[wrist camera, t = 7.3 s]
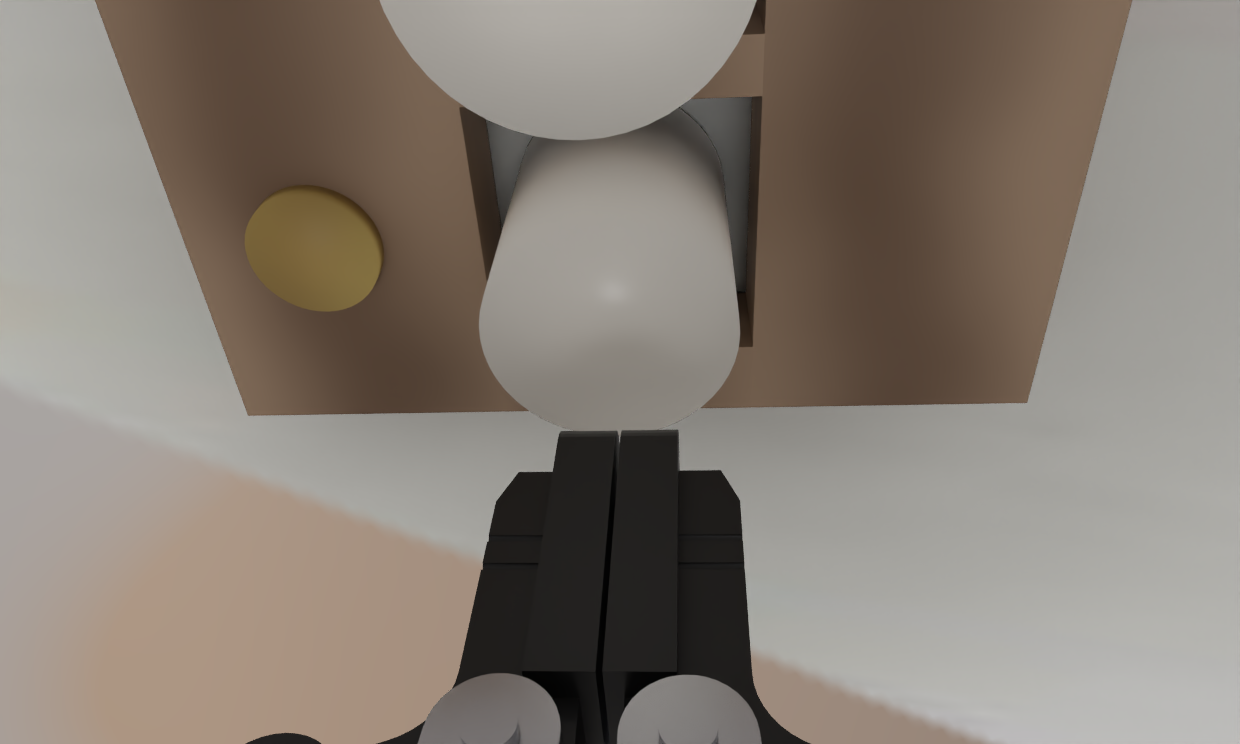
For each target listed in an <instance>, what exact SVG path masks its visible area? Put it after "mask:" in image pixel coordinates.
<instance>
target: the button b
mask: <svg viewBox="0 0 1240 744" xmlns="http://www.w3.org/2000/svg"><path fill="white" fill-rule="evenodd" d="M756 1H757V0H380V3H381V5H382V8H383V11H384V13H385V15H386V17H387V18H388V20H389V22H390V24H391V26H392V28H393V30H394V32H395V34H396V35H397V37H398V38H399V40H400V41H401V43H402V44H403V46H404V47H405V49H406V50H407V52H408V53H409V55H410V56H411V57H412V59H413V60H414V61H415V62H416V63H417V64H418V65H419V67H420V68H421V69H422V70H423V71H424V72H425V74H426V75H427V76H428V77H429V78H430V79H431V80H432V81H433V82H435V83H436V84H437V85H438V86H439V87H440V88H441V89H442V90H443V91H444V92H445V93H446V94H448V95H449V96H450V97H452V98H453V99H455V100H456V101H457V102H459V103H460V104H461V105H463V106H464V107H466V108H467V109H469V110H471V111H472V112H474V113H476V114H478V115H479V116H481V117H483V118H485V119H487V120H488V121H491V122H493V123H496V124H498V125H500V126H503V127H505V128H508V129H510V130H513V131H517V132H521V133H524V134H528V135H531V136H536V137H543V138H549V139H556V140H588V139H599V138H606V137H610V136H614V135H619V134H623V133H627V132H630V131H632V130H635V129H638V128H641V127H643V126H646V125H649V124H651V123H653V122H654V121H656V120H658V119H660V118H662V117H664V116H666V115H668V114H670V113H671V112H673V111H674V110H676V109H677V108H678V107H680V106H681V105H683V104H684V103H686V102H687V101H689V100H690V99H691V98H692V97H693V96H694V95H695V94H696V93H698V92H699V91H700V90H701V89H702V88H703V87H704V86H705V85H707V83H708V82H709V81H710V80H711V79H712V78H713V77H714V75H715V74H716V73H717V72H718V71H719V70H720V69H721V67H722V66H723V65H724V63H725V62H726V61H727V59H728V58H729V56H730V55H731V53H732V52H733V50H734V49H735V47H736V46H737V44H738V42H739V40H740V38H741V36H742V34H743V32H744V30H745V28H746V26H747V24H748V22H749V20H750V17H751V15H752V12H753V9H754V6H755V3H756Z"/></svg>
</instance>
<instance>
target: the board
mask: <svg viewBox="0 0 1240 744" xmlns="http://www.w3.org/2000/svg"><path fill="white" fill-rule="evenodd" d="M95 2H96V4H97V7H98V10H99V12H100V15H101V18H102V20H103V23H104V26H105V29H106V31H107V34H108V37H109V39H110V42H111V45H112V48H113V50H114V53H115V56H116V58H117V61H118V64H119V67H120V69H121V72H122V75H123V77H124V80H125V83H126V86H127V88H128V91H129V94H130V96H131V99H132V102H133V105H134V107H135V110H136V113H137V115H138V118H139V121H140V124H141V126H142V129H143V132H144V134H145V137H146V140H147V142H148V145H149V148H150V151H151V153H152V156H153V159H154V161H155V164H156V167H157V170H158V172H159V175H160V178H161V180H162V183H163V186H164V189H165V191H166V194H167V197H168V199H169V202H170V205H171V208H172V210H173V213H174V216H175V218H176V221H177V224H178V227H179V229H180V232H181V235H182V237H183V240H184V243H185V246H186V248H187V251H188V254H189V256H190V259H191V262H192V264H193V267H194V270H195V273H196V275H197V278H198V281H199V283H200V286H201V289H202V292H203V294H204V297H205V300H206V302H207V305H208V308H209V311H210V313H211V316H212V319H213V321H214V324H215V327H216V330H217V332H218V335H219V338H220V340H221V343H222V346H223V349H224V351H225V354H226V357H227V359H228V362H229V365H230V367H231V370H232V373H233V376H234V378H235V381H236V384H237V386H238V389H239V392H240V395H241V397H242V400H243V403H244V405H245V408H246V411H247V414H248V416H251V415H312V414H373V413H434V412H495V411H529V410H527V409H526V408H525V407H523V406H522V405H521V404H520V403H518V402H517V401H516V400H515V399H514V398H513V397H512V396H511V395H510V394H509V393H508V392H507V391H506V390H505V389H504V388H503V387H502V385H501V384H500V383H499V382H498V380H497V379H496V377H495V376H494V374H493V372H492V371H491V369H490V367H489V365H488V363H487V360H486V358H485V356H484V353H483V349H482V345H481V341H480V333H479V315H480V308H481V304H482V299H483V295H484V292H485V288H486V285H487V281H488V278H489V275H490V271H491V268H492V264H493V261H494V257H495V254H496V250H497V247H498V243H499V240H500V236H501V233H502V231H501V224H500V217H499V210H498V203H497V196H496V189H495V182H494V175H493V168H492V161H491V154H490V147H489V140H488V133H487V126H486V119H485V118H483V117H481V116H479V115H478V114H476V113H474V112H472V111H471V110H469V109H467V108H466V107H464V106H463V105H461V104H460V103H459V102H457V101H456V100H455V99H453V98H452V97H450V96H449V95H448V94H446V93H445V92H444V91H443V90H442V89H441V88H440V87H439V86H438V85H437V84H436V83H435V82H433V81H432V80H431V79H430V78H429V77H428V76H427V75H426V74H425V72H424V71H423V70H422V69H421V68H420V67H419V65H418V64H417V63H416V62H415V61H414V60H413V59H412V57H411V56H410V55H409V53H408V52H407V50H406V49H405V47H404V46H403V44H402V43H401V41H400V40H399V38H398V37H397V35H396V34H395V32H394V30H393V28H392V26H391V24H390V22H389V20H388V18H387V17H386V15H385V13H384V11H383V8H382V5H381V3H380V0H95ZM1131 2H1132V0H757V1H756V3H755V6H754V9H753V12H752V15H751V17H750V20H749V22H748V24H747V26H746V28H745V30H744V32H743V34H742V36H741V38H740V40H739V42H738V44H737V46H736V47H735V49H734V50H733V52H732V53H731V55H730V56H729V58H728V59H727V61H726V62H725V63H724V65H723V66H722V67H721V69H720V70H719V71H718V72H717V73H716V74H715V75H714V77H713V78H712V79H711V80H710V81H709V82H708V83H707V85H705V86H704V87H703V88H702V89H701V90H700V91H699V92H698V93H696V94H695V95H694V96H693V97H692V98H691V99H700V98H728V97H752V111H751V142H750V174H749V205H748V236H747V267H746V292H744V293H737V302H738V311H739V320H740V341H739V349H738V352H737V356H736V360H735V363H734V365H733V367H732V369H731V372H730V374H729V376H728V377H727V379H726V380H725V382H724V384H723V385H722V387H721V388H720V389H719V390H718V391H717V392H716V394H715V395H714V396H713V397H712V398H711V399H710V400H709V401H708V402H707V403H706V404H704V405H703V406H702V407H701V408H739V407H800V406H861V405H922V404H983V403H1027V401H1028V397H1029V393H1030V390H1031V386H1032V382H1033V378H1034V374H1035V370H1036V367H1037V363H1038V359H1039V355H1040V351H1041V347H1042V344H1043V340H1044V336H1045V332H1046V328H1047V324H1048V321H1049V317H1050V313H1051V309H1052V305H1053V301H1054V298H1055V294H1056V290H1057V286H1058V282H1059V278H1060V275H1061V271H1062V267H1063V263H1064V259H1065V255H1066V252H1067V248H1068V244H1069V240H1070V236H1071V232H1072V229H1073V225H1074V221H1075V217H1076V213H1077V209H1078V206H1079V202H1080V198H1081V194H1082V190H1083V186H1084V183H1085V179H1086V175H1087V171H1088V167H1089V163H1090V160H1091V156H1092V152H1093V148H1094V144H1095V140H1096V137H1097V133H1098V129H1099V125H1100V121H1101V117H1102V114H1103V110H1104V106H1105V102H1106V98H1107V94H1108V91H1109V87H1110V83H1111V79H1112V75H1113V71H1114V68H1115V64H1116V60H1117V56H1118V52H1119V48H1120V45H1121V41H1122V37H1123V33H1124V29H1125V25H1126V22H1127V18H1128V14H1129V10H1130V6H1131Z"/></svg>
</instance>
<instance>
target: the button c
mask: <svg viewBox="0 0 1240 744" xmlns="http://www.w3.org/2000/svg"><path fill="white" fill-rule="evenodd" d="M479 333H480V341H481V345H482V349H483V353H484V356H485V358H486V360H487V363H488V365H489V367H490V369H491V371H492V372H493V374H494V376H495V377H496V379H497V380H498V382H499V383H500V384H501V385H502V387H503V388H504V389H505V390H506V391H507V392H508V393H509V394H510V395H511V396H512V397H513V398H514V399H515V400H516V401H517V402H518V403H520V404H521V405H522V406H523V407H525V408H526V409H527V410H529V411H530V412H532V413H534V414H535V415H537V416H539V417H540V418H542V419H544V420H546V421H548V422H551V423H553V424H555V425H558V426H561V427H563V428H566V429H569V430H573V431H618V435H619V436H621V431H622V430H657V429H661V428H664V427H666V426H669V425H671V424H674V423H676V422H678V421H680V420H682V419H684V418H686V417H688V416H689V415H691V414H692V413H694V412H695V411H697V410H698V409H699V408H701V407H702V406H703V405H704V404H706V403H707V402H708V401H709V400H710V399H711V398H712V397H713V396H714V395H715V394H716V392H717V391H718V390H719V389H720V388H721V387H722V385H723V384H724V382H725V380H726V379H727V377H728V376H729V374H730V372H731V369H732V367H733V365H734V363H735V360H736V356H737V352H738V349H739V341H740V320H739V311H738V302H737V293H736V284H735V276H734V267H733V258H732V249H731V240H730V231H729V223H728V214H727V205H726V196H725V187H724V179H723V172H722V167H721V163H720V160H719V157H718V155H717V152H716V150H715V148H714V146H713V144H712V142H711V140H710V139H709V137H708V136H707V135H706V133H705V132H704V130H703V129H702V128H701V127H700V126H699V125H698V124H697V123H696V122H695V121H694V120H693V119H692V118H691V117H690V116H688V115H687V114H686V113H685V112H683V111H682V110H680V109H679V108H677V109H676V110H674V111H673V112H671V113H670V114H668V115H666V116H664V117H662V118H660V119H658V120H656V121H654V122H653V123H651V124H649V125H646V126H643V127H641V128H638V129H635V130H632V131H630V132H627V133H623V134H619V135H614V136H610V137H606V138H599V139H588V140H556V139H549V138H543V137H536V136H533V138H532V139H531V141H530V143H529V145H528V147H527V149H526V152H525V154H524V157H523V160H522V163H521V167H520V170H519V174H518V177H517V181H516V184H515V188H514V191H513V194H512V198H511V201H510V205H509V208H508V212H507V215H506V219H505V222H504V226H503V229H502V233H501V236H500V240H499V243H498V247H497V250H496V254H495V257H494V261H493V264H492V268H491V271H490V275H489V278H488V281H487V285H486V288H485V292H484V295H483V299H482V304H481V308H480V315H479Z"/></svg>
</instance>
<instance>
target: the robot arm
mask: <svg viewBox="0 0 1240 744" xmlns="http://www.w3.org/2000/svg"><path fill="white" fill-rule="evenodd" d="M246 744H321V743H320V742H318V741H317V740H315V739H313V738H311V737H308V736H305V735H301V734H294V733H281V734H273V735H269V736H264V737H261V738H258V739H255V740H253V741H250V742H248V743H246ZM378 744H810V743H807V742H805V741H803V740H801V739H800V738H798V737H796V736H794V735H792V734H791V733H790V732H788V731H787V730H786V729H784V728H783V727H781V726H780V725H779V724H778V723H777V722H776V721H775V720H774V719H773V718H772V717H771V716H770V714H769V713H768V712H767V710H766V709H765V708H764V706H763V704H762V703H761V701H760V699H759V697H758V695H757V692H756V689H755V686H754V683H753V676H752V667H751V652H750V638H749V624H748V610H747V595H746V581H745V570H744V553H743V541H742V524H741V510H740V500H739V498H738V496H737V495H736V493H735V492H734V490H733V489H732V487H731V486H730V484H729V482H728V481H727V479H726V478H725V476H724V475H723V473H722V472H721V470H708V471H680V467H679V433H678V430H622V431H621V437H620V445H619V435H618V431H561V432H560V434H559V437H558V443H557V449H556V455H555V462H554V468H553V472H519V473H518V474H517V475H516V477H515V478H514V479H513V481H512V482H511V483H510V484H509V486H508V487H507V488H506V490H505V491H504V492H503V494H502V495H501V496H500V497H499V499H498V500H497V501H496V505H495V509H494V514H493V518H492V523H491V527H490V532H489V542H487V546H486V550H485V555H484V559H483V570H481V573H480V578H479V582H478V587H477V591H476V596H475V600H474V605H473V609H472V614H471V619H470V623H469V628H468V633H467V637H466V641H465V646H464V651H463V655H462V660H461V664H460V669H459V673H458V676H457V679H456V682H455V684H454V686H453V688H452V689H451V690H450V691H449V692H448V693H447V694H445V695H444V696H443V697H442V698H441V699H440V700H439V701H438V703H437V704H436V705H435V706H434V707H433V709H432V710H431V712H430V714H429V715H428V717H427V719H426V721H424V722H423V723H422V724H420V725H419V726H417V727H416V728H414V729H413V730H411V731H409V732H407V733H405V734H403V735H401V736H398V737H396V738H393V739H390V740H387V741H384V742H381V743H378Z"/></svg>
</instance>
